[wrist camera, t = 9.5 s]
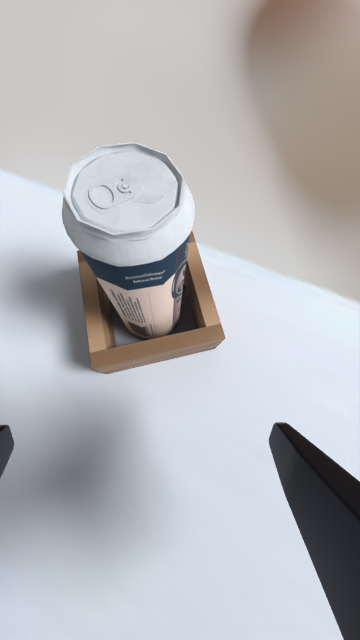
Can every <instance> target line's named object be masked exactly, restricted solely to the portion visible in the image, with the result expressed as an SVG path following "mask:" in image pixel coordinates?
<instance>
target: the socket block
mask: <svg viewBox="0 0 360 640" xmlns="http://www.w3.org/2000/svg"><path fill="white" fill-rule="evenodd" d="M77 254H78V262H79V270H80V278H81V286H82V295H83V303H84V311H85V319H86V327H87V335H88V343H89V352H90V360H91V368H92V369H93V370H96V371H99V372H102V373H105V374H109V373H113V372H118V371H122V370H126V369H130V368H135V367H139V366H143V365H147V364H152V363H156V362H160V361H164V360H169V359H173V358H177V357H181V356H186V355H190V354H194V353H198V352H203V351H207V350H211V349H215V348H216V347H217V346H218V345H219V344H220V343H221V342H222V341H223V340H224V339H225V335H224V332H223V329H222V326H221V323H220V319H219V316H218V313H217V310H216V306H215V303H214V300H213V297H212V293H211V290H210V287H209V284H208V281H207V277H206V274H205V271H204V268H203V264H202V261H201V258H200V255H199V251H198V248H197V245H196V242H195V239H194V235H193V232H192V231H191V232H190V238H189V245H188V253H187V260H186V268H185V276H184V285H185V288H186V292H187V296H188V299H189V303H190V307H191V310H192V314H193V318H194V321H195V325H196V328H197V329H195V330H190V331H186V332H181V333H177V334H172V335H168V336H163V337H159V338H154V339H150V340H145V341H141V342H136V343H132V344H127V345H123V346H118V347H116V343H115V336H114V330H113V324H112V317H111V311H110V305H109V299H108V296H107V294H106V293H105V291H104V289H103V288H102V286H101V284H100V283H99V281H98V280H97V278H96V276H95V275H94V273H93V271H92V270H91V268H90V266H89V265H88V263H87V262H86V260H85V258H84V257H83V255H82V253H81V252H80V250H79V251H77Z"/></svg>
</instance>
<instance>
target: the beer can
mask: <svg viewBox="0 0 360 640" xmlns="http://www.w3.org/2000/svg"><path fill="white" fill-rule="evenodd" d="M62 193H63V195H64V198H63V208H62V219H63V224H64V226H65V229H66V232H67V234H68V236H69V237H70V239H71V240H72V242H73V243H74V245H75V246H76V247H77V248H78V249H79V250H80V252H81V253H82V255H83V257H84V258H85V260H86V262H87V263H88V265H89V266H90V268H91V270H92V271H93V273H94V275H95V276H96V278H97V280H98V281H99V283H100V284H101V286H102V288H103V289H104V291H105V293H106V294H107V296H108V297H109V299H110V301H111V302H112V304H113V306H114V307H115V309H116V310H117V312H118V314H119V315H120V317H121V319H122V320H123V323H124V325H125V326H126V328H127V329H128V330H129V331H130V332H131V333H132V334H134V335H135V336H138V337H141V338H144V339H154V338H159V337H163V336H165V335H166V334H168V333H170V332H171V331H172V330H173V329H174V328H175V326H176V325H177V323H178V321H179V319H180V313H181V307H180V306H181V298H182V291H183V283H184V276H185V268H186V260H187V253H188V245H189V238H190V232H191V229H192V227H193V222H194V216H195V206H194V201H193V197H192V194H191V192H190V190H189V188H188V187H187V185H186V183H185V181H184V176H183V175H182V173H181V172H180V171H179V170H178V169H177V167H176V165H175V164H174V163H173V162H172V160H171V159H170V158H169V156H168V155H167V154H166V153H163V152H161V151H158V150H155V149H152V148H150V147H147V146H144V145H142V144H139V143H136V142H130V143H121V144H111V145H102V146H98V147H97V148H95V149H94V150H92V151H91V152H89V153H88V154H86V155H85V156H83V157H82V158H80V159H78V160H77V161H75V162H74V163H73V164H72V165H71V167H70V170H69V173H68V176H67V179H66V182H65V185H64V188H63V191H62Z"/></svg>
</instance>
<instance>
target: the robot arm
mask: <svg viewBox="0 0 360 640" xmlns="http://www.w3.org/2000/svg"><path fill="white" fill-rule="evenodd" d="M269 445H270V448H271V452H272V455H273V458H274V461H275V465H276V468H277V471H278V475H279V478H280V481H281V484H282V487H283V490H284V493H285V496H286V498H287V501H288V503H289V506H290V508H291V511H292V513H293V516H294V518H295V521H296V523H297V525H298V528H299V530H300V533H301V535H302V538H303V540H304V543H305V545H306V548H307V550H308V552H309V555H310V557H311V560H312V562H313V565H314V567H315V570H316V572H317V575H318V577H319V580H320V582H321V584H322V587H323V589H324V592H325V594H326V597H327V599H328V602H329V604H330V607H331V609H332V611H333V614H334V616H335V619H336V621H337V624H338V626H339V629H340V631H341V634H342V636H343V639H344V640H360V481H358V480H357V479H356V478H355V477H353V476H352V475H351V474H350V473H348V472H347V471H346V470H345V469H343V468H342V467H341V466H340V465H338V464H337V463H336V462H335V461H333V460H332V459H331V458H330V457H329V456H327V455H326V454H325V453H324V452H322V451H321V450H320V449H319V448H317V447H316V446H315V445H314V444H312V443H311V442H310V441H309V440H307V439H306V438H305V437H304V436H302V435H301V434H300V433H299V432H297V431H296V430H295V429H294V428H293V427H291V426H290V425H289V424H287V423H284V422H277V423H275V424H274V425H273V428H272V431H271V434H270V437H269ZM13 447H14V440H13V437H12V434H11V430H10V427H9V426H8V425H0V478H1V476H2V474H3V471H4V469H5V467H6V464H7V462H8V460H9V458H10V455H11V453H12V451H13Z"/></svg>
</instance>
